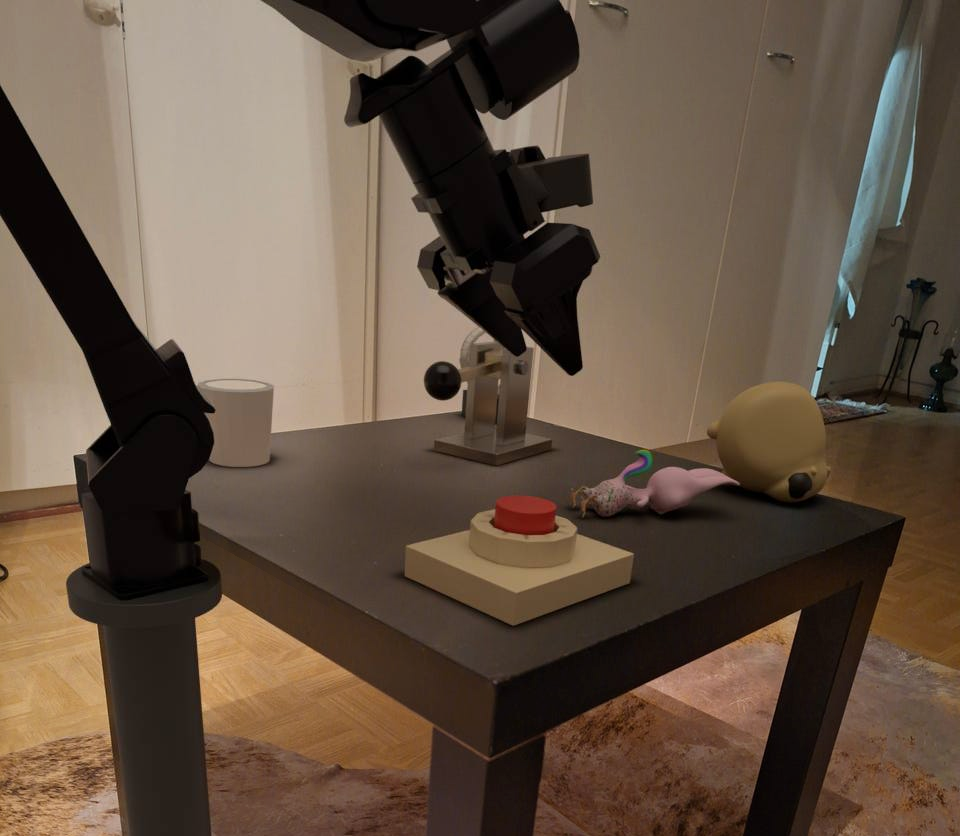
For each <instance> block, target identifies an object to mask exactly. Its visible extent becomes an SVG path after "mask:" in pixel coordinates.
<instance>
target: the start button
mask: <svg viewBox="0 0 960 836" xmlns="http://www.w3.org/2000/svg"><path fill="white" fill-rule="evenodd" d="M494 509H495V519H494V528H496V529H499V530H501V531H504V532H507V533H514V534H521V535H546V534H550V533H553V532H554V526H555V517H556V516H557V505H556V504H555V503H554V502H552V501H551V500H548V499H546V498H542V497H538V496H534V495H533V496H531V495H530V496H529V495H521V494H520V495H518V494H517V495H516V494H515V495H506V496H501V497H499V498H498V499H496V501H495V508H494Z"/></svg>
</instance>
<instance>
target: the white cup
mask: <svg viewBox="0 0 960 836" xmlns="http://www.w3.org/2000/svg"><path fill="white" fill-rule="evenodd" d="M196 386H198V387H199V388H200V389H201V390H202V391H203V393H204V394H205V395H206V397H207V398H208V400H209V401H210V402H211V404H212V405H213V407H214V408H215V413H213V414H211V413H205V415H206V416H207V418H208V420H209V422H210V425H211V428H212V430H213V433H214V445H213V449H212V452H211V455H210V459H209V460H208V462H211V463H212V464H214V465H218V466H221V467H222V466H223V467H229V468H230V467H231V468H250V467H258V466H263V465H266V464H268V463H270V458H271V445H272V443H271V442H272V427H273V426H272V424H273V408H274V407H273V406H274V393H275V392H274V391H275V385H273V384H272V383H269V382H266V381H260V380H253V379H245V378H218V379H209V380H203V381H199V382H198V383H197V385H196Z"/></svg>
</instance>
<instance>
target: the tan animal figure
mask: <svg viewBox="0 0 960 836" xmlns="http://www.w3.org/2000/svg"><path fill="white" fill-rule="evenodd" d="M706 435H707V436H708V437H709V439H712V440H715V442H716V451H717V455H718V458H719V461H720V463H721V466H722V471H721V473H722V474H724V475H726V476H727V477H729V478H731V479H733V480H735V481H737V482H739V483H740V485H739V486H738V487H741V488H742V489H745V490H747V491H750V492H754V493H763V494H765V495H767V496H769V497H770V498H772V499H774V500H777V501H779V502H783V503H788V504H789V503H790V504H792V503H799V502H802V501H805V500H808V499H809V498H812V497H814V496H815V495H817V494H819V493H820V492H821V491H822V490H823V489H824V487H825V485H826V483H827V481H828V480H827V479H828V478H829V475H830V473H831V472H832V468H831V467H830V466H829V465H828V463H827V462H826V453H825V452H826V445H827V438H826V437H827V434H826V428H825V422H824V418H823V414H822V412H821V408H820V406H819V404H818V402H817V401H816V399H815V397H814V396H813V394H811V392H810V391H808V390H807V389H806V388H805V387H803V386H802V385H799V384H797V383H793V382H789V381H771V382H764V383H760V384H757V385H755V386H752V387H750V388H747V389H745V390H744V391H742V392H740V393H739V394H737V395H736V397H734V398H733V399H732V400H731V401H730V402H729V403H728V404H727V406H726V407H725V408H724V410H723V412H722V413H721V416H720V418H719V419H717V420H716V421H714V422H712V423H710V424H709V426H708V427H707V429H706ZM722 485H723V486H725V487H726V486H727V487H728V486H731V485H732V484H726V483H725V484H722Z"/></svg>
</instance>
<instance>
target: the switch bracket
mask: <svg viewBox="0 0 960 836" xmlns="http://www.w3.org/2000/svg"><path fill="white" fill-rule="evenodd" d="M473 343H474V342H473ZM526 347H527V350H526V352H524V353H523V354H521V355H520V356H518V357H516V356H514V355H513V354H512V353H510V352H509V351H508V350H507V349H503V354H502V367H501V379H496V378H491V377H485V376H482V377H478V378H475V379H472V380H468V383H467V388H466V390H467V402H466V417H465V416H464V417H465V418H464V420H465V421H464V432H461V433H457V434H453V435H448V436H444V437H440V438H436V439H435V438H434V441H433V452H437V453H442V454H446V455H450V456H454V457H459V458H462V459H467V460H470V461H471V460H472V461H474V462H479V463H483V464H487V465H491V466H496V467H497V466H500V465H503V464H507V463H510V462H514V461H517V460H522V459H524V458H527V457H531V456H535V455H538V454H541V453H544V452H548V451H551V450H552V446H553V439H552V438H549V437H544V436H540V435H535V434H531V433H527V424H528V413H529V412H528V411H529V404H530V403H529V402H530V391H531V381H532V370H533V359H534V349H535V348H534V347H531V346H526ZM497 349H501V344H499V343H498V342H494V341H487V342H475V343H474V344H470V355H469V366H472V365H475V364H479V363H482V362H485V353H486V352H490V351H493V350H497ZM499 381H500V382H499ZM499 385H500V392H499V404H498V417H497V424H495V420H496V407H497V394H498V386H499Z"/></svg>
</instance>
